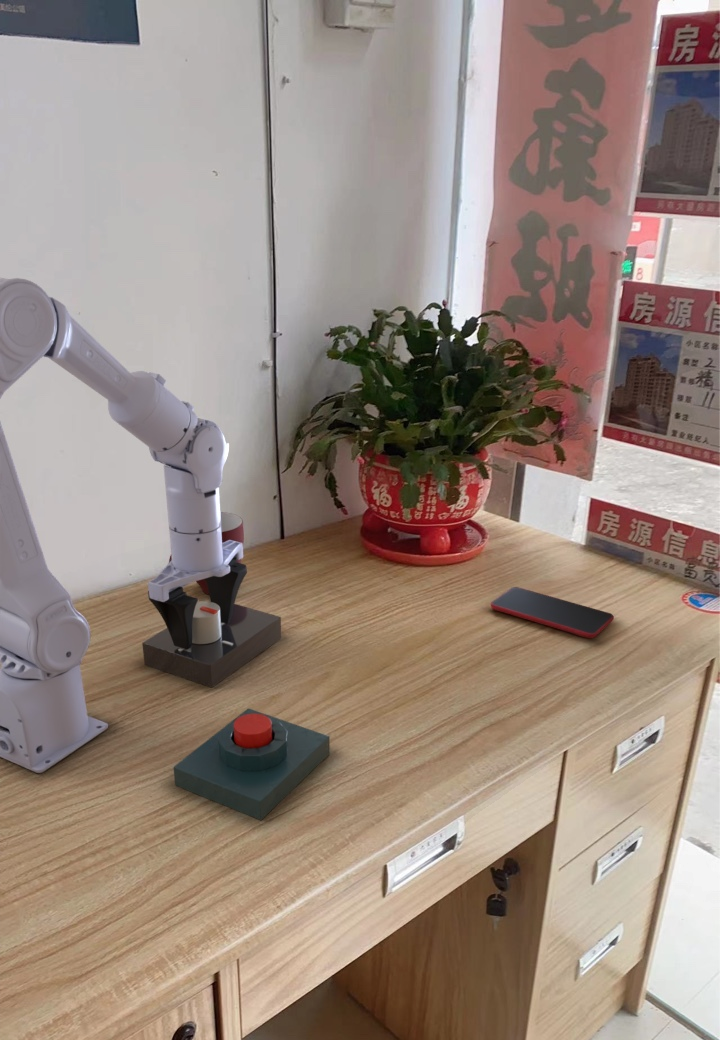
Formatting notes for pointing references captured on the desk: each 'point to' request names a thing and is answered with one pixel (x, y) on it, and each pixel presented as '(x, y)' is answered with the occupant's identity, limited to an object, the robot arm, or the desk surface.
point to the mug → (227, 537)
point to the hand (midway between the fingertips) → (202, 633)
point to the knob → (206, 623)
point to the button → (252, 731)
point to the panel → (215, 648)
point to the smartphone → (553, 612)
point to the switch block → (252, 767)
